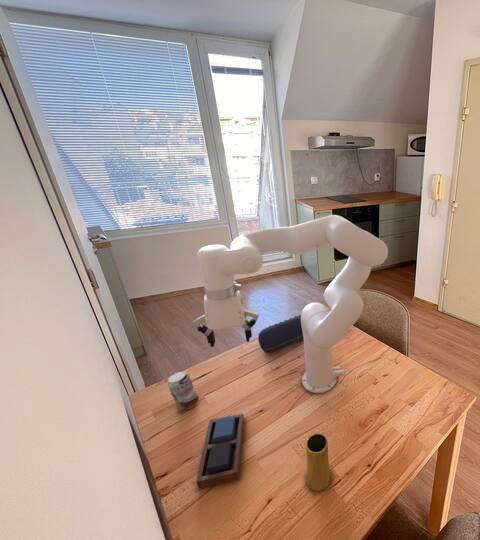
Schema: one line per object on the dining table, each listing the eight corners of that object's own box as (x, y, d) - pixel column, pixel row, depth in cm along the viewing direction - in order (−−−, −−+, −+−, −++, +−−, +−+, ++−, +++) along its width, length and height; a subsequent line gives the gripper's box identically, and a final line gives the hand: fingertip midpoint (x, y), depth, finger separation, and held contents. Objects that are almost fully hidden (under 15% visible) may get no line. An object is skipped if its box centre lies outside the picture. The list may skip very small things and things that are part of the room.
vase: (307, 467, 80) (305, 431, 74) (330, 465, 80) (329, 430, 74) (306, 492, 74) (303, 456, 68) (330, 490, 75) (329, 454, 69)
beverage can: (190, 414, 94) (181, 386, 89) (170, 409, 95) (160, 382, 90) (203, 398, 99) (196, 371, 94) (184, 394, 100) (176, 367, 95)
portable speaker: (307, 325, 138) (306, 307, 134) (319, 336, 132) (318, 317, 127) (255, 347, 124) (252, 327, 120) (265, 360, 117) (262, 339, 113)
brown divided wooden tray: (244, 420, 92) (243, 413, 91) (238, 479, 76) (236, 472, 75) (211, 426, 90) (209, 419, 88) (198, 489, 74) (196, 481, 73)
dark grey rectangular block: (233, 451, 82) (230, 442, 81) (230, 473, 77) (227, 463, 75) (213, 455, 81) (211, 446, 79) (209, 478, 76) (206, 468, 74)
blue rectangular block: (236, 425, 90) (234, 416, 88) (234, 443, 85) (232, 433, 83) (218, 428, 89) (216, 419, 87) (215, 447, 83) (212, 438, 82)
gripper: (255, 281, 85) (262, 330, 92) (189, 287, 80) (201, 338, 87) (254, 293, 78) (261, 345, 85) (181, 301, 74) (195, 354, 81)
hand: (231, 341), depth 86 cm, fingers open, 9 cm apart
